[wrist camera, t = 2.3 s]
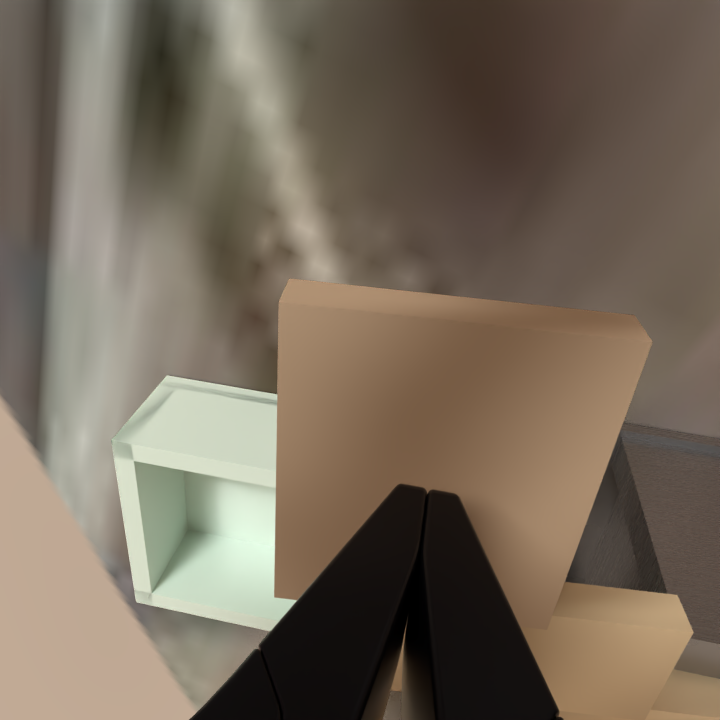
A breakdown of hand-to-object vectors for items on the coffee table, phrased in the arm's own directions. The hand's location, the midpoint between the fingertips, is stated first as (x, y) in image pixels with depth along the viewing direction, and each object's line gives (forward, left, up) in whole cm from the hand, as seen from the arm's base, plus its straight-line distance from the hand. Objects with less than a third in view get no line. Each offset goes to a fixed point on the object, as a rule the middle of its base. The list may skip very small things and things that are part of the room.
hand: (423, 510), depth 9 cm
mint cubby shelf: (+4, +9, -9) cm, 13 cm away
